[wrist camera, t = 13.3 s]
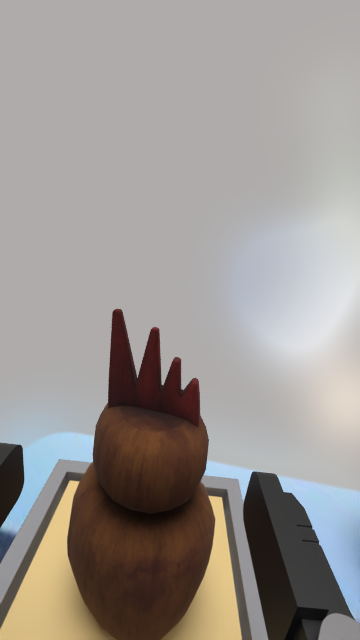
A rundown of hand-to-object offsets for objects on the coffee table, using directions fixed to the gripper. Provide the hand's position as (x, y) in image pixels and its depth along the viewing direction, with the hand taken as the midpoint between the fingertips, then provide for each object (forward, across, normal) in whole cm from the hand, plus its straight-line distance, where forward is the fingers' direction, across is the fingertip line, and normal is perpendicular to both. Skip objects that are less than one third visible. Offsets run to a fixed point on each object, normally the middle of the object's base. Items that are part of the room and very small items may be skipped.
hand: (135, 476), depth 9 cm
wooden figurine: (+2, 0, +10) cm, 10 cm away
